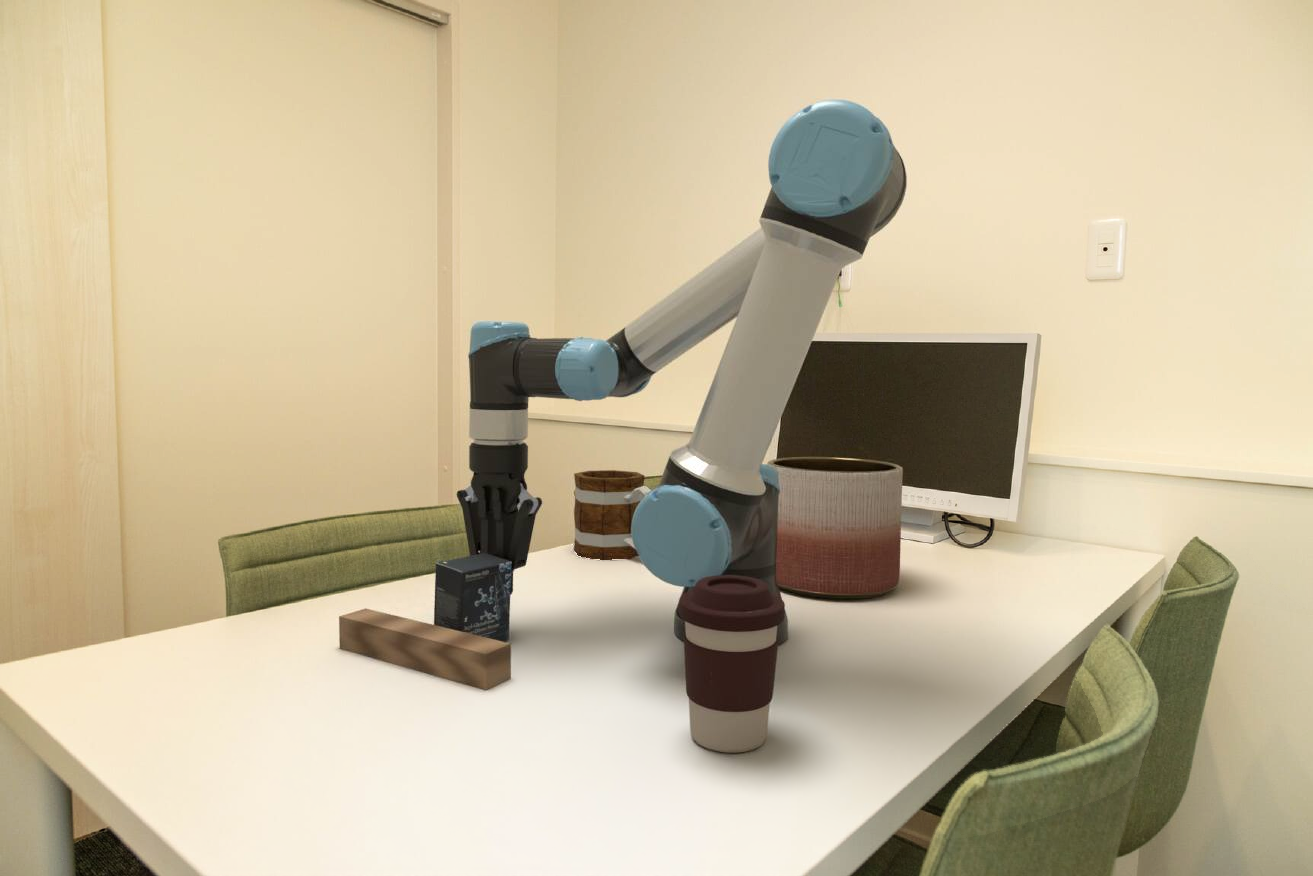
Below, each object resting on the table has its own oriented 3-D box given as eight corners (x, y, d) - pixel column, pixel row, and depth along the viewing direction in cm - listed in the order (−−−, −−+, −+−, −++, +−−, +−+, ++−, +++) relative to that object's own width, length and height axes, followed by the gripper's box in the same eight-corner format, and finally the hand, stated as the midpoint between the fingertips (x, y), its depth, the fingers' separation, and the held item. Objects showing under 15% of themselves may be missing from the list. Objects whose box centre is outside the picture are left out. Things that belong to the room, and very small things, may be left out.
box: (460, 656, 97) (461, 571, 96) (432, 644, 101) (433, 561, 99) (510, 640, 103) (513, 560, 102) (482, 629, 107) (484, 551, 105)
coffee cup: (671, 716, 81) (674, 570, 80) (767, 714, 82) (771, 569, 81) (682, 763, 72) (686, 598, 70) (792, 760, 72) (797, 597, 71)
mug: (558, 550, 154) (559, 473, 153) (615, 542, 163) (616, 468, 162) (620, 571, 139) (622, 485, 138) (679, 560, 148) (681, 479, 147)
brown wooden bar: (510, 678, 91) (510, 643, 90) (486, 690, 87) (486, 654, 87) (366, 639, 103) (365, 608, 102) (339, 648, 99) (339, 616, 99)
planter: (747, 592, 127) (750, 466, 126) (779, 562, 148) (782, 454, 146) (891, 610, 119) (897, 476, 118) (904, 576, 140) (909, 461, 138)
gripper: (557, 443, 104) (554, 619, 107) (481, 436, 111) (480, 602, 114) (518, 447, 98) (516, 635, 100) (440, 439, 105) (441, 616, 107)
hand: (497, 617), depth 107 cm, fingers closed
